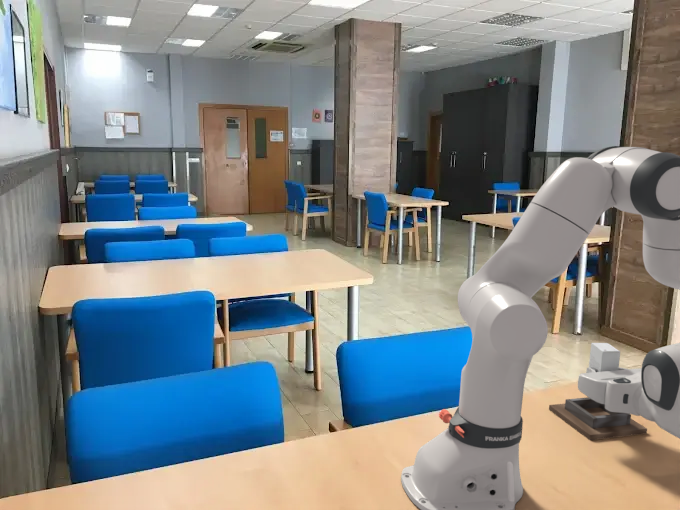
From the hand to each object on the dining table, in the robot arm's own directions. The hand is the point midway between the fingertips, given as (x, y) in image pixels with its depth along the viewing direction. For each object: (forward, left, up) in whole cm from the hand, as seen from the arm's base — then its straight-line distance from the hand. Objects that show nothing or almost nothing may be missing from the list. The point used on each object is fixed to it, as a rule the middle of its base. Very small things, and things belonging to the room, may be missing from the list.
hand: (600, 369), depth 132 cm
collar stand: (0, -1, -13) cm, 13 cm away
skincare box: (0, -1, -6) cm, 6 cm away
